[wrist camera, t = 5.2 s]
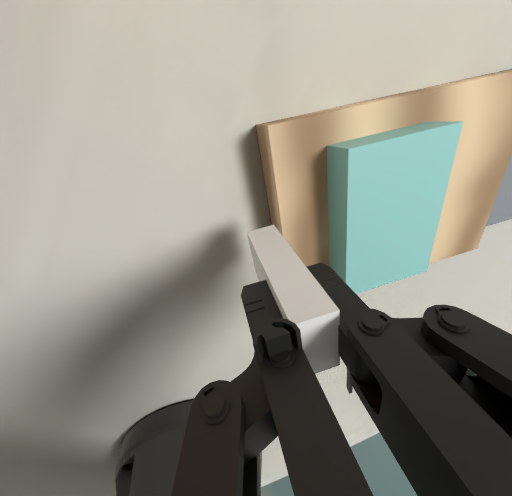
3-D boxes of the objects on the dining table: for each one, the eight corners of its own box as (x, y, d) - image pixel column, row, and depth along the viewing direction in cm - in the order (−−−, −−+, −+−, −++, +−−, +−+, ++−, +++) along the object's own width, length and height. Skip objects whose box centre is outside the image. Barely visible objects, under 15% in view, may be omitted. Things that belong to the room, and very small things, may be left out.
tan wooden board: (281, 286, 19) (292, 306, 17) (255, 125, 13) (267, 125, 11) (448, 235, 21) (477, 248, 19) (493, 73, 15) (543, 64, 13)
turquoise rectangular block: (329, 279, 17) (345, 297, 15) (326, 145, 12) (348, 149, 10) (403, 256, 17) (426, 271, 16) (427, 121, 13) (463, 121, 11)
